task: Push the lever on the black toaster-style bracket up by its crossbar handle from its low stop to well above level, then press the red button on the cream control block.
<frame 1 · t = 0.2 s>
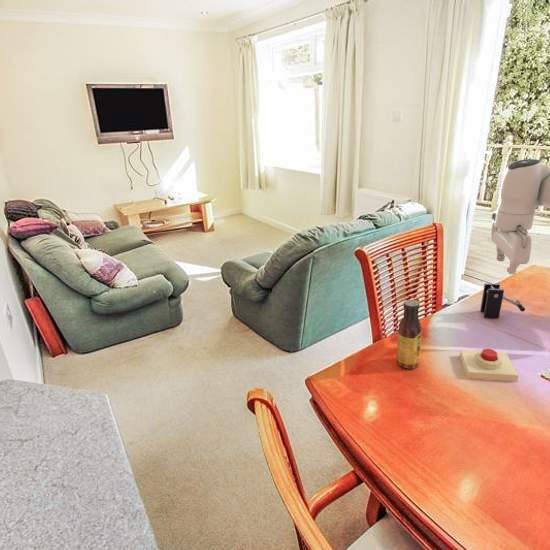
hand: (505, 266, 109), 23 cm above the table, tool pointing down, fingers open, 8 cm apart
sauce bottle: (407, 363, 109), on the table
bracket: (488, 317, 127), on the table
control block: (486, 368, 104), on the table
button: (489, 355, 102), point 4 cm above the table, slide at 0.1 cm
lever: (505, 298, 123), point 8 cm above the table, hinge at -30.0°
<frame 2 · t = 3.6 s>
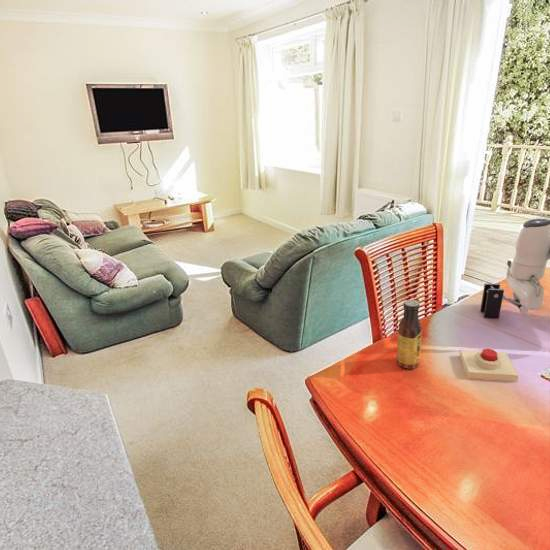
hand: (519, 308, 124), 4 cm above the table, tool pointing down, fingers closed on lever, 5 cm apart
lever: (505, 298, 123), point 8 cm above the table, hinge at -30.0°, touching gripper
everything else where it was.
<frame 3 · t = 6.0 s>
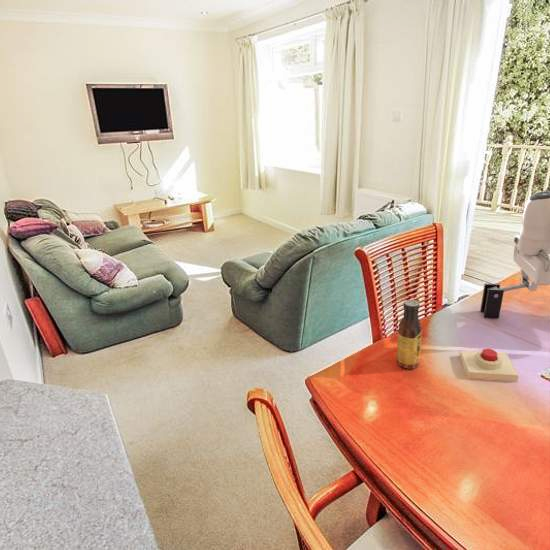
hand: (528, 285, 120), 12 cm above the table, tool pointing down, fingers closed on lever, 5 cm apart
lever: (509, 288, 122), point 11 cm above the table, hinge at 16.5°, touching gripper
everything else where it was.
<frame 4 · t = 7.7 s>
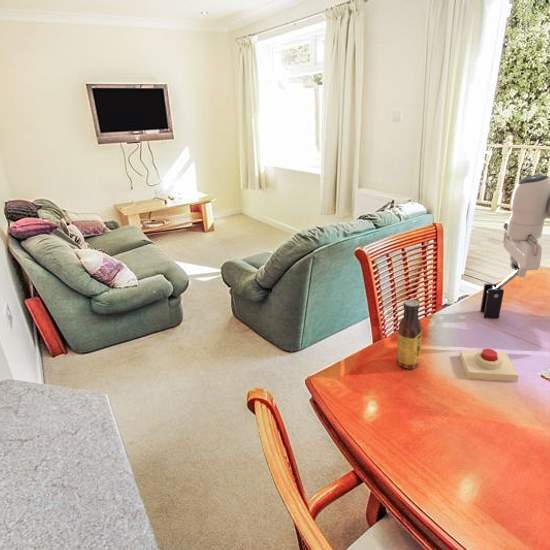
hand: (517, 271, 119), 17 cm above the table, tool pointing down, fingers closed on lever, 5 cm apart
lever: (505, 282, 121), point 14 cm above the table, hinge at 50.5°, touching gripper
everything else where it was.
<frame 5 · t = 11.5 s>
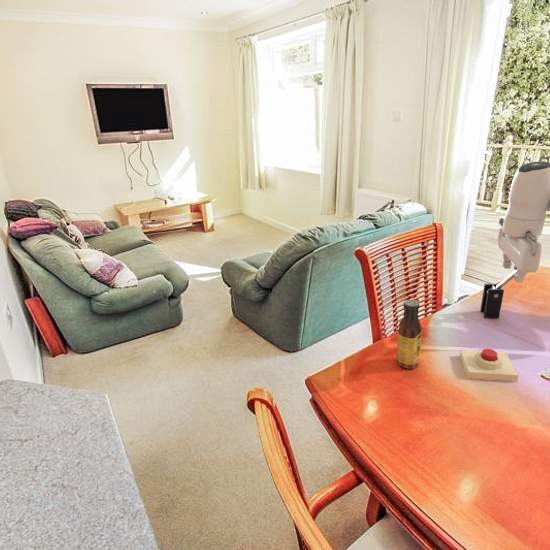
hand: (512, 274, 104), 24 cm above the table, tool pointing down, fingers open, 8 cm apart
lever: (504, 281, 121), point 14 cm above the table, hinge at 51.5°
everything else where it was.
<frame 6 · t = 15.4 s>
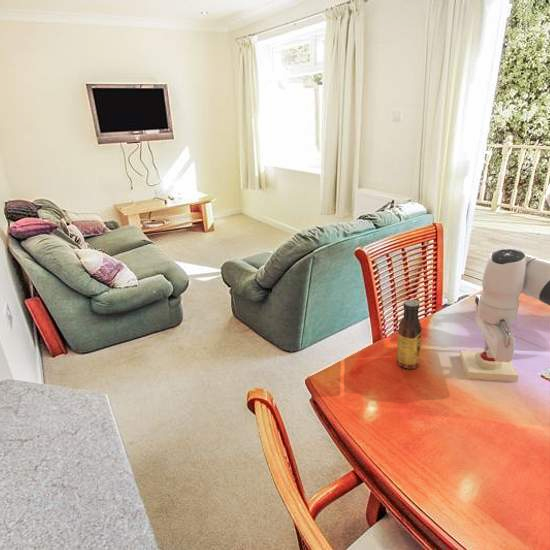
hand: (488, 354, 102), 5 cm above the table, tool pointing down, fingers closed, pressing on button
button: (488, 357, 103), point 4 cm above the table, slide at -0.7 cm, touching gripper
everything else where it was.
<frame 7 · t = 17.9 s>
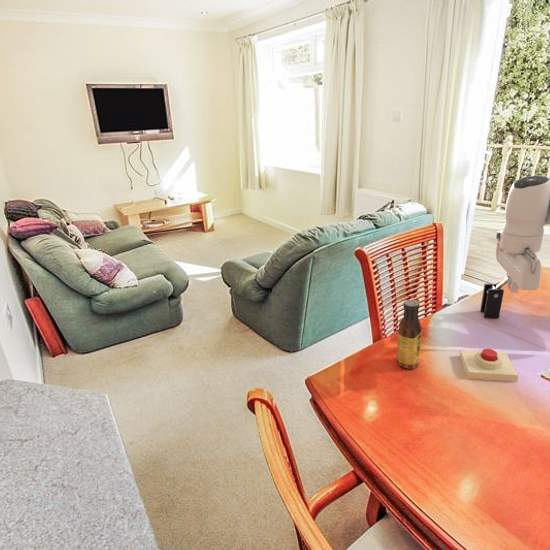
hand: (512, 289, 101), 21 cm above the table, tool pointing down, fingers closed
button: (489, 355, 102), point 4 cm above the table, slide at 0.1 cm
everything else where it was.
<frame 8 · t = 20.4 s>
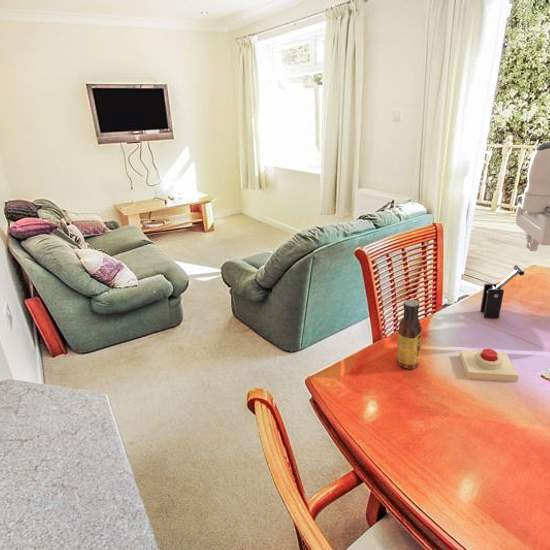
hand: (531, 249, 110), 27 cm above the table, tool pointing down, fingers closed
nothing on the table moved.
at the end: lever at +52° (first picture: -30°); button pushed in 1.0 cm at the most during the clip, back to where it started at the end; button slide at 0.1 cm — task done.
